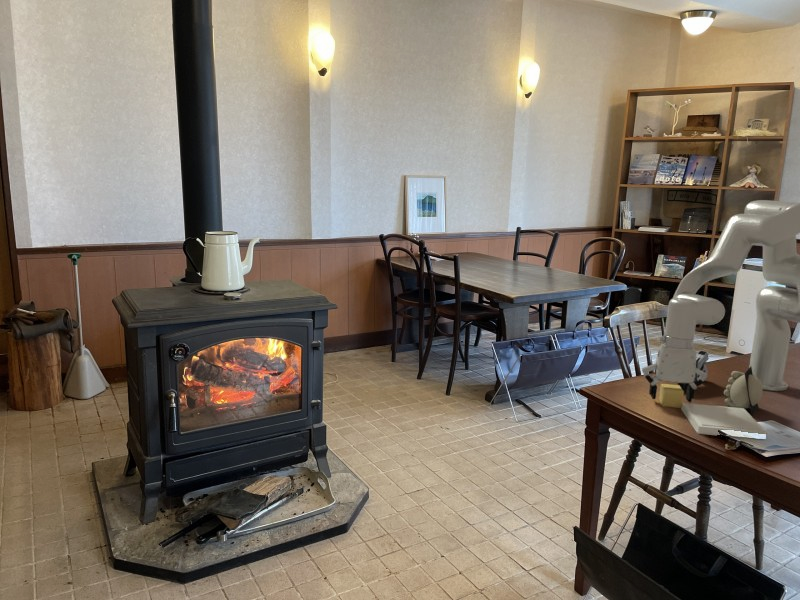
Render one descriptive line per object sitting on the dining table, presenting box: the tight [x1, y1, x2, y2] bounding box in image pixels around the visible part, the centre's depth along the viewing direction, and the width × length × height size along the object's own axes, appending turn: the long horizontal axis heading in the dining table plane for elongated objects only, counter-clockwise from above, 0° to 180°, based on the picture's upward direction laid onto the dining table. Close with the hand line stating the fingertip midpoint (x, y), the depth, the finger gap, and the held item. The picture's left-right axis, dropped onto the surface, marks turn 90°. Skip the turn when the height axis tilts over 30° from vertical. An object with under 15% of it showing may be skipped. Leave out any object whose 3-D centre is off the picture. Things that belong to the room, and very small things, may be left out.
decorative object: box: [723, 367, 764, 417], centre depth 169 cm, size 12×10×10 cm
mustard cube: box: [658, 383, 685, 408], centre depth 172 cm, size 5×5×5 cm
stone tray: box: [681, 402, 768, 436], centre depth 159 cm, size 16×16×2 cm
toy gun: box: [677, 349, 709, 393], centre depth 187 cm, size 2×18×11 cm, turn 133°
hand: (670, 398), depth 172 cm, fingers open, 9 cm apart
